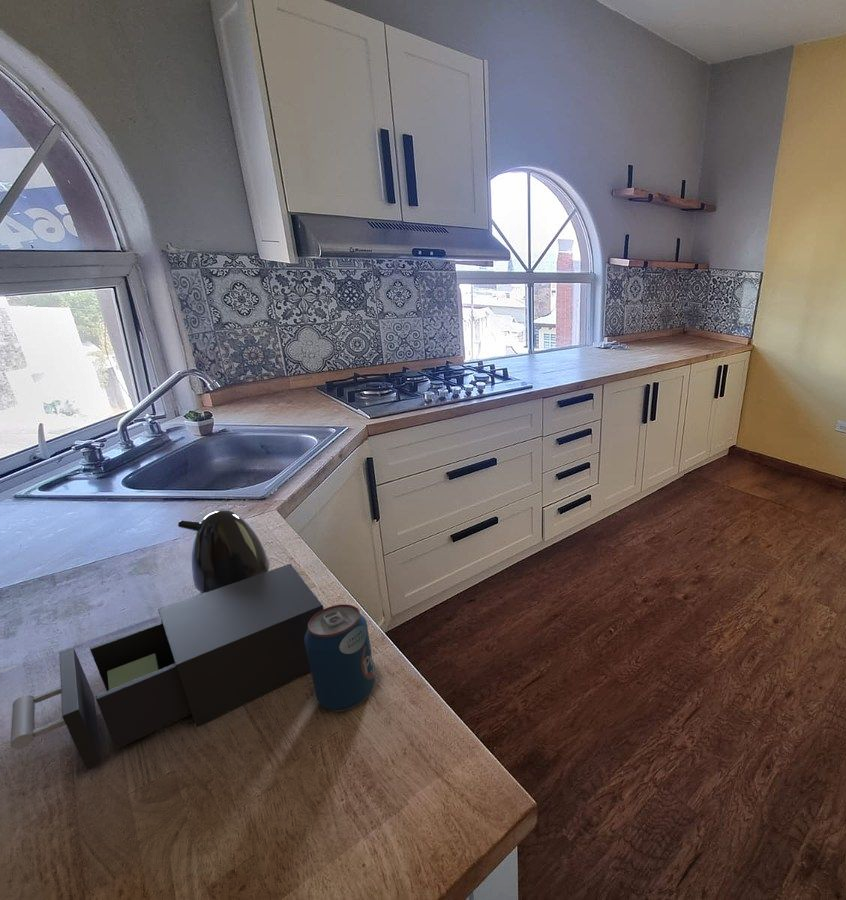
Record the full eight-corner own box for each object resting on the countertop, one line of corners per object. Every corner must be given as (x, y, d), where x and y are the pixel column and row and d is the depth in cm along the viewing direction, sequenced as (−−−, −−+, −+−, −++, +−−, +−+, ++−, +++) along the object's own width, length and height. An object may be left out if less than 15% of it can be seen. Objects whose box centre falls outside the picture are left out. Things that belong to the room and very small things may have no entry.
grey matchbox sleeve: (196, 728, 60) (175, 665, 57) (176, 666, 69) (157, 608, 65) (333, 660, 71) (323, 604, 67) (301, 614, 79) (290, 563, 76)
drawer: (27, 798, 51) (-2, 742, 48) (29, 723, 59) (4, 671, 56) (245, 694, 64) (231, 645, 61) (222, 644, 72) (209, 599, 69)
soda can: (385, 695, 65) (373, 620, 61) (327, 726, 61) (311, 647, 57) (365, 665, 70) (353, 594, 66) (311, 691, 65) (294, 617, 61)
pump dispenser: (210, 581, 86) (188, 502, 81) (279, 570, 90) (262, 494, 85) (188, 618, 78) (162, 532, 72) (266, 605, 81) (246, 522, 76)
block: (118, 699, 61) (106, 670, 59) (164, 680, 64) (155, 652, 62) (120, 721, 58) (108, 692, 57) (169, 700, 61) (159, 672, 59)
